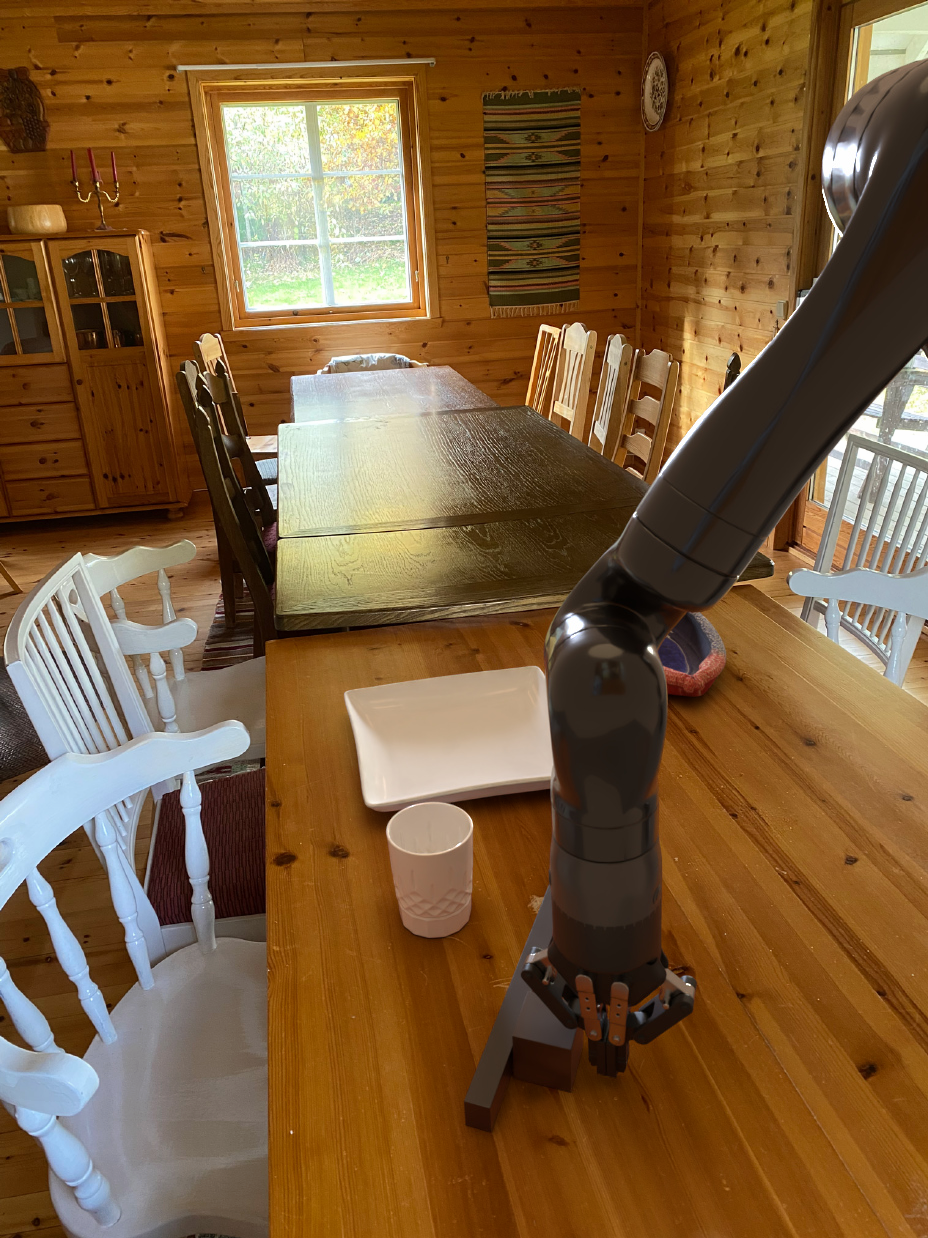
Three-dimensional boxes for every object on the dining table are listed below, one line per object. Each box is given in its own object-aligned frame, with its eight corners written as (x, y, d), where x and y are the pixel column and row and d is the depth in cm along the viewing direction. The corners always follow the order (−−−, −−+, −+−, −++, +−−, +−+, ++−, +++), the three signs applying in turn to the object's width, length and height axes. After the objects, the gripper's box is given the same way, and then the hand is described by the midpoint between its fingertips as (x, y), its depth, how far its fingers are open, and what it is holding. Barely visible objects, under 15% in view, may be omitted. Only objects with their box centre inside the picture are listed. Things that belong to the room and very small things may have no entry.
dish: (695, 616, 147) (697, 587, 145) (744, 711, 119) (748, 677, 117) (598, 619, 148) (599, 590, 146) (625, 714, 120) (626, 680, 118)
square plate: (368, 834, 99) (364, 805, 97) (345, 713, 123) (342, 687, 122) (606, 795, 103) (607, 766, 102) (538, 685, 128) (538, 660, 126)
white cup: (428, 875, 92) (421, 792, 88) (493, 904, 88) (489, 818, 84) (377, 922, 86) (368, 836, 82) (444, 956, 82) (438, 866, 78)
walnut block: (583, 1045, 73) (583, 1003, 71) (571, 1093, 69) (571, 1050, 67) (528, 1032, 74) (527, 991, 72) (513, 1078, 70) (512, 1035, 68)
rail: (599, 824, 99) (599, 804, 98) (491, 1132, 66) (490, 1108, 65) (581, 821, 99) (581, 801, 98) (465, 1125, 67) (463, 1101, 66)
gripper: (711, 864, 63) (703, 1047, 70) (527, 837, 68) (537, 1011, 75) (699, 940, 57) (692, 1133, 64) (497, 904, 61) (511, 1088, 68)
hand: (608, 1067), depth 69 cm, fingers closed
